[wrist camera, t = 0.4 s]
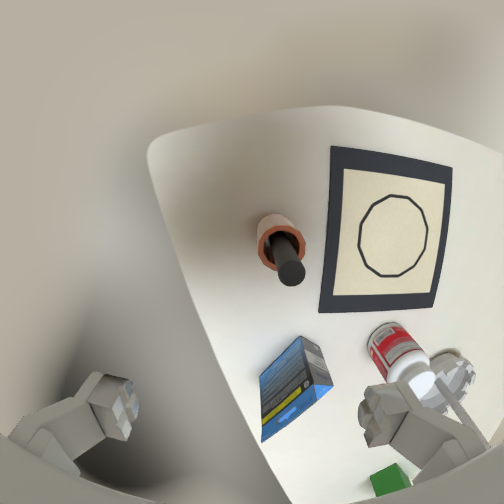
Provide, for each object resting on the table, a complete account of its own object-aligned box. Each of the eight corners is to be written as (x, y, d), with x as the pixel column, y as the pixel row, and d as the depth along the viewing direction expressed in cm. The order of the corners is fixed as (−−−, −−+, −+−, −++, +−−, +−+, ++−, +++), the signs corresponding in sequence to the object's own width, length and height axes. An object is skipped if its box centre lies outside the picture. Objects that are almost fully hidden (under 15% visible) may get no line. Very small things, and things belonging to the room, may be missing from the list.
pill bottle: (392, 358, 36) (423, 405, 25) (359, 355, 35) (387, 407, 25) (409, 324, 34) (449, 366, 24) (377, 318, 34) (414, 365, 23)
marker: (267, 224, 30) (279, 260, 17) (283, 224, 30) (306, 261, 17) (267, 239, 31) (277, 286, 17) (282, 239, 31) (304, 287, 17)
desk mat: (330, 146, 28) (332, 145, 28) (450, 167, 28) (453, 167, 28) (318, 311, 34) (319, 313, 33) (431, 306, 34) (433, 307, 33)
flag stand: (421, 351, 36) (519, 486, 7) (470, 344, 36) (562, 443, 7) (394, 408, 39) (454, 535, 10) (443, 397, 39) (508, 498, 10)
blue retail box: (279, 387, 37) (286, 453, 25) (258, 376, 36) (259, 444, 24) (320, 347, 35) (344, 411, 23) (299, 333, 34) (317, 399, 22)
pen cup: (257, 212, 30) (258, 224, 23) (293, 214, 30) (306, 225, 23) (256, 248, 31) (257, 270, 24) (291, 249, 32) (303, 271, 24)
